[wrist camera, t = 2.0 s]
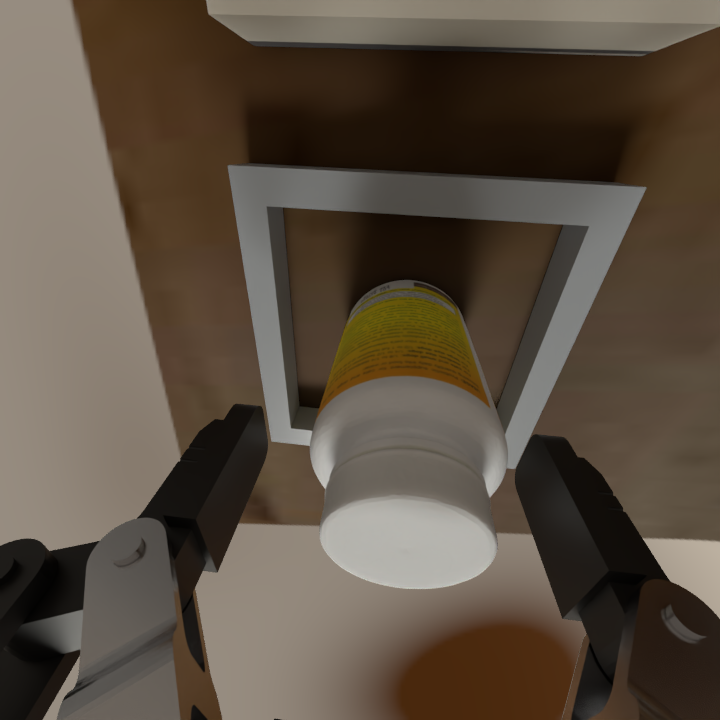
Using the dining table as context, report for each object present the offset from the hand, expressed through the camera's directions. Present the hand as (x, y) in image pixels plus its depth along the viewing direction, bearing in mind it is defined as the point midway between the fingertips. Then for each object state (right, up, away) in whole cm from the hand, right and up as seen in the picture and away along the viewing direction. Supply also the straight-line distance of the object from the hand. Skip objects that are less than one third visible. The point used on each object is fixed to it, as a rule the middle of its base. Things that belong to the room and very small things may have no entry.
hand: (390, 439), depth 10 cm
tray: (+1, +4, +6) cm, 7 cm away
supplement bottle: (+1, +4, +6) cm, 7 cm away
